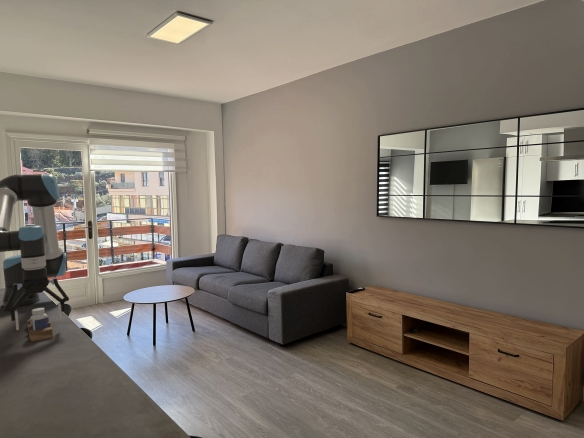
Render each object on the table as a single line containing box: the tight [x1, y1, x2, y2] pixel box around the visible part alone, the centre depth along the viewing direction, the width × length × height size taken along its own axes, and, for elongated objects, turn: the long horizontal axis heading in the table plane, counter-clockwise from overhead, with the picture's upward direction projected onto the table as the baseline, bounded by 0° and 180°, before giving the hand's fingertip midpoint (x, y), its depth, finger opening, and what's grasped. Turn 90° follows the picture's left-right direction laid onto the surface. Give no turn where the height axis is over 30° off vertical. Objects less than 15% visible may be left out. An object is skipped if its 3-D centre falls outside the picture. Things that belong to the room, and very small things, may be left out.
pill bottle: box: [29, 307, 48, 331], centre depth 150 cm, size 5×5×10 cm
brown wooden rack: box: [27, 315, 54, 343], centre depth 154 cm, size 20×7×3 cm, turn 35°
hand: (39, 324), depth 150 cm, fingers open, 13 cm apart
